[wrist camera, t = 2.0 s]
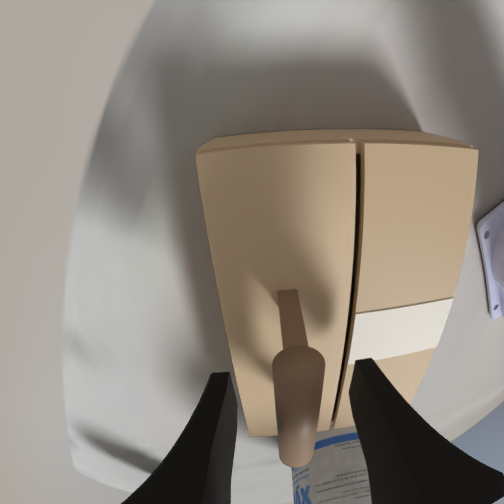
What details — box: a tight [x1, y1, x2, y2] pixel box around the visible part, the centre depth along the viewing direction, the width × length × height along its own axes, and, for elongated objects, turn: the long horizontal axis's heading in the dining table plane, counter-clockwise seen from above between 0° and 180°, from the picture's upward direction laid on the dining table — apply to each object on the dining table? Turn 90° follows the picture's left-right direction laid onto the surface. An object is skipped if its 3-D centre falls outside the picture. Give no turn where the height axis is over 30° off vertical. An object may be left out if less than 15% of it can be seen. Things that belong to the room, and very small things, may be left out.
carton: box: [196, 129, 479, 429], centre depth 14 cm, size 10×16×4 cm, turn 6°
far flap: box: [195, 142, 356, 468], centre depth 10 cm, size 5×16×5 cm, turn 6°
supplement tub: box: [291, 425, 372, 504], centre depth 18 cm, size 10×10×15 cm
